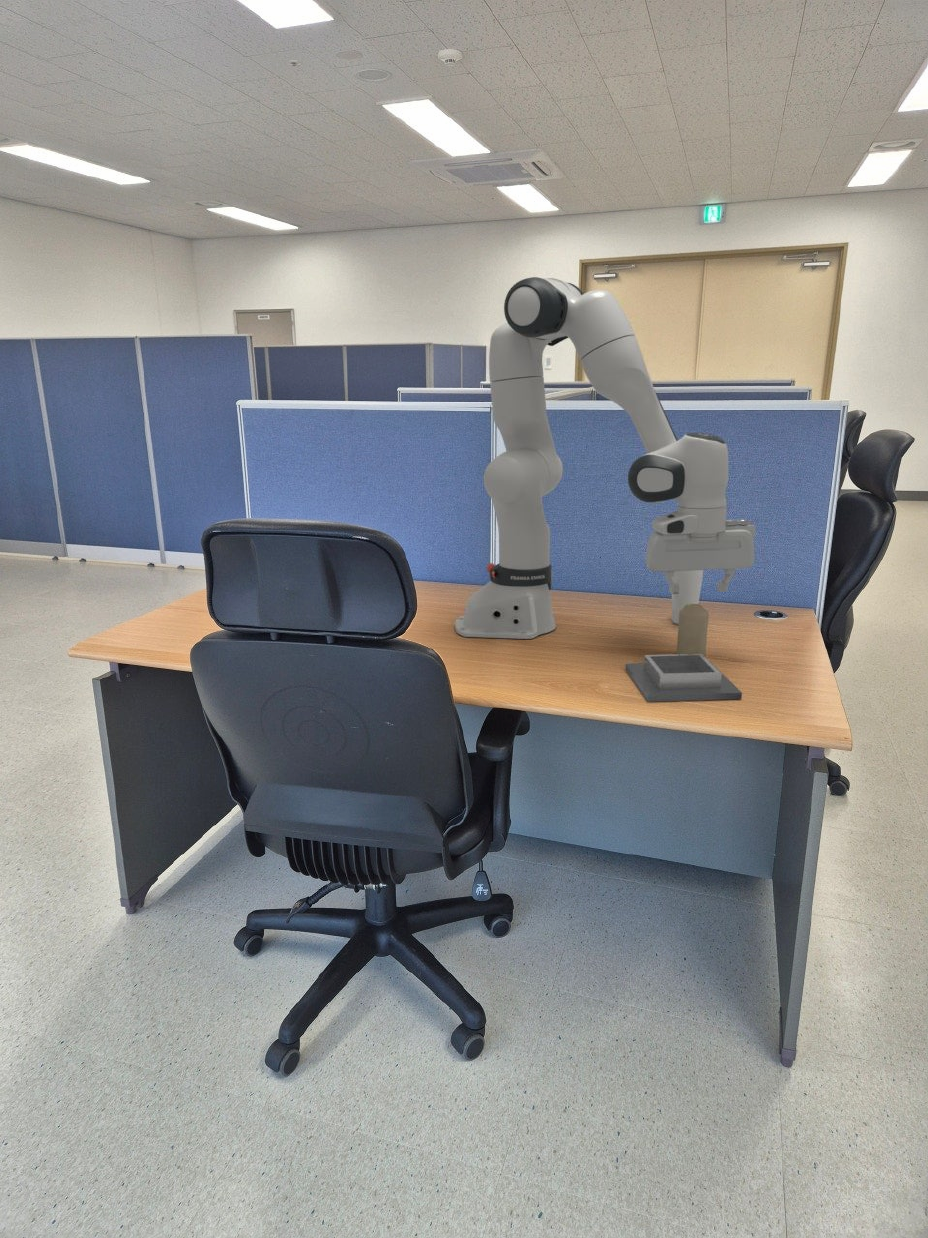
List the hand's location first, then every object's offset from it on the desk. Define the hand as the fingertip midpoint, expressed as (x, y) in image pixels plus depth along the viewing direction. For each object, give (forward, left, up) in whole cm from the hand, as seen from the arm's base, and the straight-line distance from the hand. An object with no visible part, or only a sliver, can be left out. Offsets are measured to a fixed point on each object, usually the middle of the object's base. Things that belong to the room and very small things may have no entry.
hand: (698, 592), depth 152 cm
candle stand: (-7, -16, -13) cm, 21 cm away
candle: (0, 0, -13) cm, 13 cm away
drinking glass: (+5, +21, -13) cm, 25 cm away
